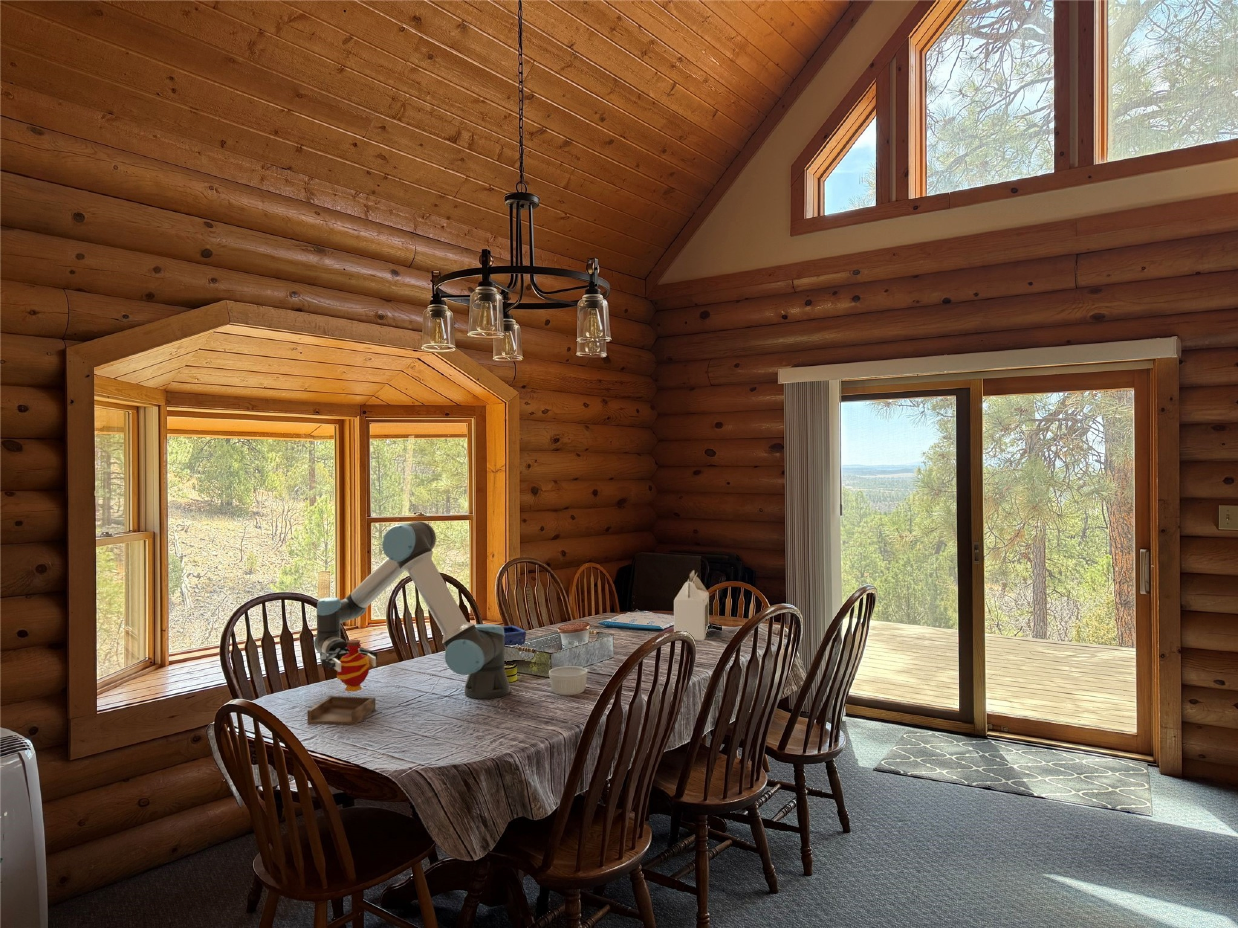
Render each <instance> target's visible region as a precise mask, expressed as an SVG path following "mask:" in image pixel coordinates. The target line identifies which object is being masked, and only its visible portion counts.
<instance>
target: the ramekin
mask: <svg viewBox="0 0 1238 928" xmlns="http://www.w3.org/2000/svg"><path fill="white" fill-rule="evenodd" d="M587 676H588V669H587V668H585V667H582V666H573V665H571V666H570V665H564V666H559V667H554V668H552V669H550V670H549V671H548V677H549V683H550V689H551V690H552V691H551V692H553V693H554V694H556V695H560V696H573V695H574V696H575V695H579V694H582V693H583V692H584V691H585V690H586V686H587V678H588V677H587Z"/></svg>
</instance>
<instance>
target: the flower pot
mask: <svg viewBox="0 0 1238 928" xmlns="http://www.w3.org/2000/svg"><path fill="white" fill-rule="evenodd" d="M502 627H503V628H504V635H505V637H504V647H505V645H516V644H518V645H522V644H524V645H525V643H526V639H527V638H526V637H527V632H526V630H524V629H522V628H520V627H518V626H516V625H505V626H502Z"/></svg>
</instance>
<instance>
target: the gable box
mask: <svg viewBox="0 0 1238 928" xmlns="http://www.w3.org/2000/svg"><path fill="white" fill-rule="evenodd" d="M697 575H698V573H696V574H695V569H693V570H692V571H691V572H689V575H688V579H687V581H685V583H683V585H682V588H681V589H680V590H679V592H678V593H677V595H676V596H675V597H674V599H673V633H674V632H676V631H687V632H688V633H690V634H691V635H692V636H693V637H694V639H695V640H694V641H704V640H705V639H706V637H707V635H706V633H707V629H708V626H709V627H710V620H709V619H710V614H709V613H710V612H709V611H710V610H709V609H710V605H709V604H710V602H709V600H710V597H709V596H710V592H708V591H709V590H707V588H706V586H705V585H704V584H703V583H702V581H701V579H700V578H699V577H698V576H697ZM705 624H707V626H706V628H705ZM707 634H708V633H707Z"/></svg>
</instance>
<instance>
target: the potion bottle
mask: <svg viewBox="0 0 1238 928" xmlns="http://www.w3.org/2000/svg"><path fill="white" fill-rule="evenodd" d="M361 641H362V640H360V639H350V640H347V641H346V642H347V643H348V645H347V649H349V653H348V654H346V655H345V656H343V657H342V658H341V659H340V660H339V661H340V662H341V672H338V671H337V670H336V678H337V680H340V681H341V683H343V684H344V685H345V686H346V687H345V689H344V691H345V692H357V691H361V690H362V689H363V688H362V686H361V685H362V684H363V682H365V680H366V678H367V677H368V675H369V673H370V669H371V667H372V665H370V660H369V659H368V657H367V656H366V655H362V654H361V653H360V652H358V650H359V648H361V647H362V645H361V643H360V642H361Z"/></svg>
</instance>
